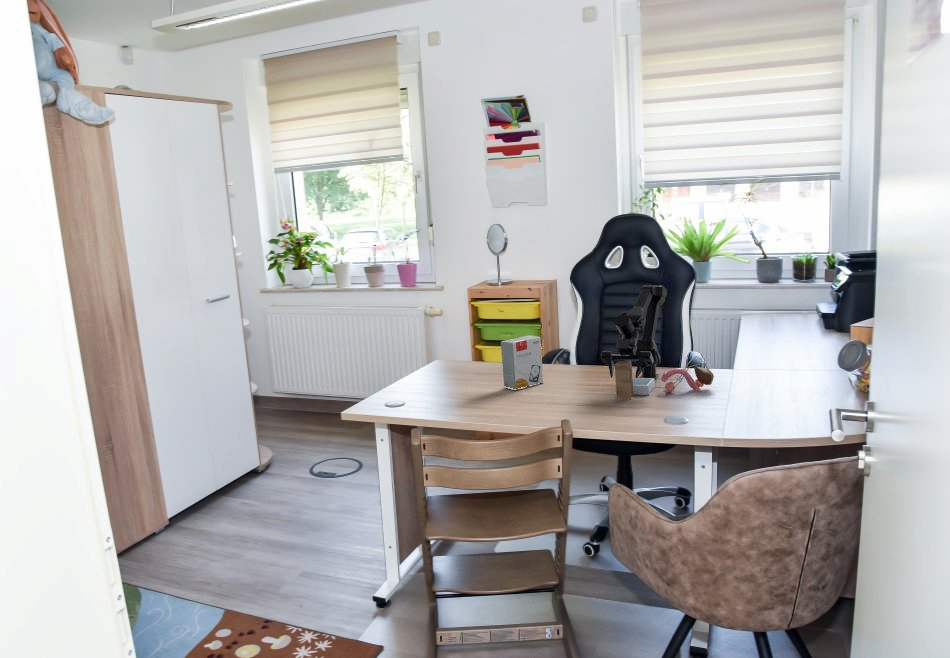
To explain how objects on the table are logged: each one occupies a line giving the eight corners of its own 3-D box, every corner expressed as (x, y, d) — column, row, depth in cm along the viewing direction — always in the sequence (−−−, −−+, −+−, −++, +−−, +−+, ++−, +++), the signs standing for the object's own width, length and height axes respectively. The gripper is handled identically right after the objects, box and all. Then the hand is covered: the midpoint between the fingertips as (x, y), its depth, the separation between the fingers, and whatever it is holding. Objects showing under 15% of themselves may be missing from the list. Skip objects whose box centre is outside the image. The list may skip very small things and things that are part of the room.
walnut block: (620, 395, 258) (618, 361, 256) (633, 395, 256) (631, 361, 254) (616, 398, 254) (614, 364, 252) (630, 399, 251) (628, 364, 249)
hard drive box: (515, 391, 277) (511, 343, 273) (503, 388, 283) (499, 341, 280) (544, 383, 286) (540, 336, 282) (532, 380, 292) (528, 334, 288)
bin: (627, 386, 269) (626, 377, 268) (654, 387, 264) (654, 378, 264) (620, 393, 260) (619, 384, 259) (648, 394, 255) (648, 385, 254)
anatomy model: (654, 378, 263) (683, 344, 259) (686, 403, 263) (716, 369, 258) (656, 386, 252) (687, 351, 248) (690, 411, 252) (721, 377, 247)
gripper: (600, 330, 259) (593, 365, 251) (650, 329, 251) (644, 366, 243) (607, 346, 268) (600, 381, 260) (655, 346, 259) (650, 382, 251)
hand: (623, 377), depth 253 cm, fingers open, 9 cm apart
